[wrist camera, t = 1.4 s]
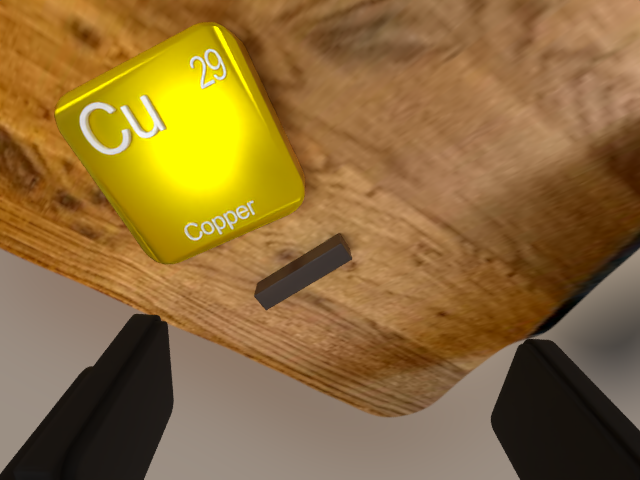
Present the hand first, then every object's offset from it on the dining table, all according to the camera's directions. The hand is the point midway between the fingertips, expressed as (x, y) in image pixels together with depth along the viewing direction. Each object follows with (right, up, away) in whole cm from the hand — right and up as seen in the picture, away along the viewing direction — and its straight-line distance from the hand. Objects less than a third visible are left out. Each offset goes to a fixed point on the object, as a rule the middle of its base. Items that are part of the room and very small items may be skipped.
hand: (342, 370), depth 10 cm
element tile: (-11, +12, +22) cm, 27 cm away
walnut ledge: (-2, +1, +27) cm, 27 cm away
